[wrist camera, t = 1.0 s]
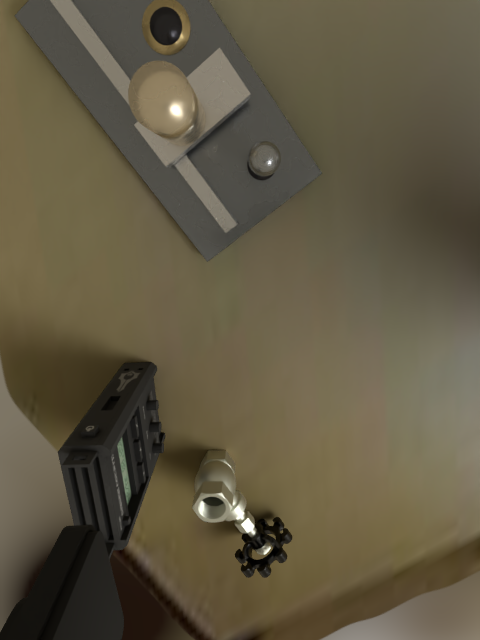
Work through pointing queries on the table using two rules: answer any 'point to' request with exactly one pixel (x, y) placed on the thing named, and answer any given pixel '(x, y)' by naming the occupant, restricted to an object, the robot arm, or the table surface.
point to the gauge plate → (187, 54)
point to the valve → (236, 513)
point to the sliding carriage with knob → (183, 103)
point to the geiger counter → (114, 455)
